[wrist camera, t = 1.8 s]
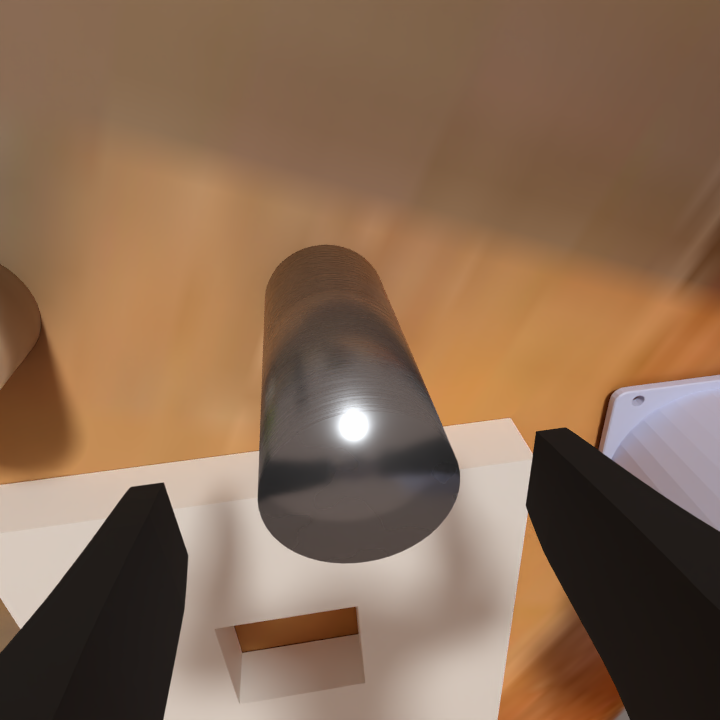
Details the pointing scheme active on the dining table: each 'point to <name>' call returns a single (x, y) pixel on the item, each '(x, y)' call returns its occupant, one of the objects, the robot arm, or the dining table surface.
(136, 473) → the hole plate
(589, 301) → the dining table surface
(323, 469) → the long pin
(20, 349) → the short pin
